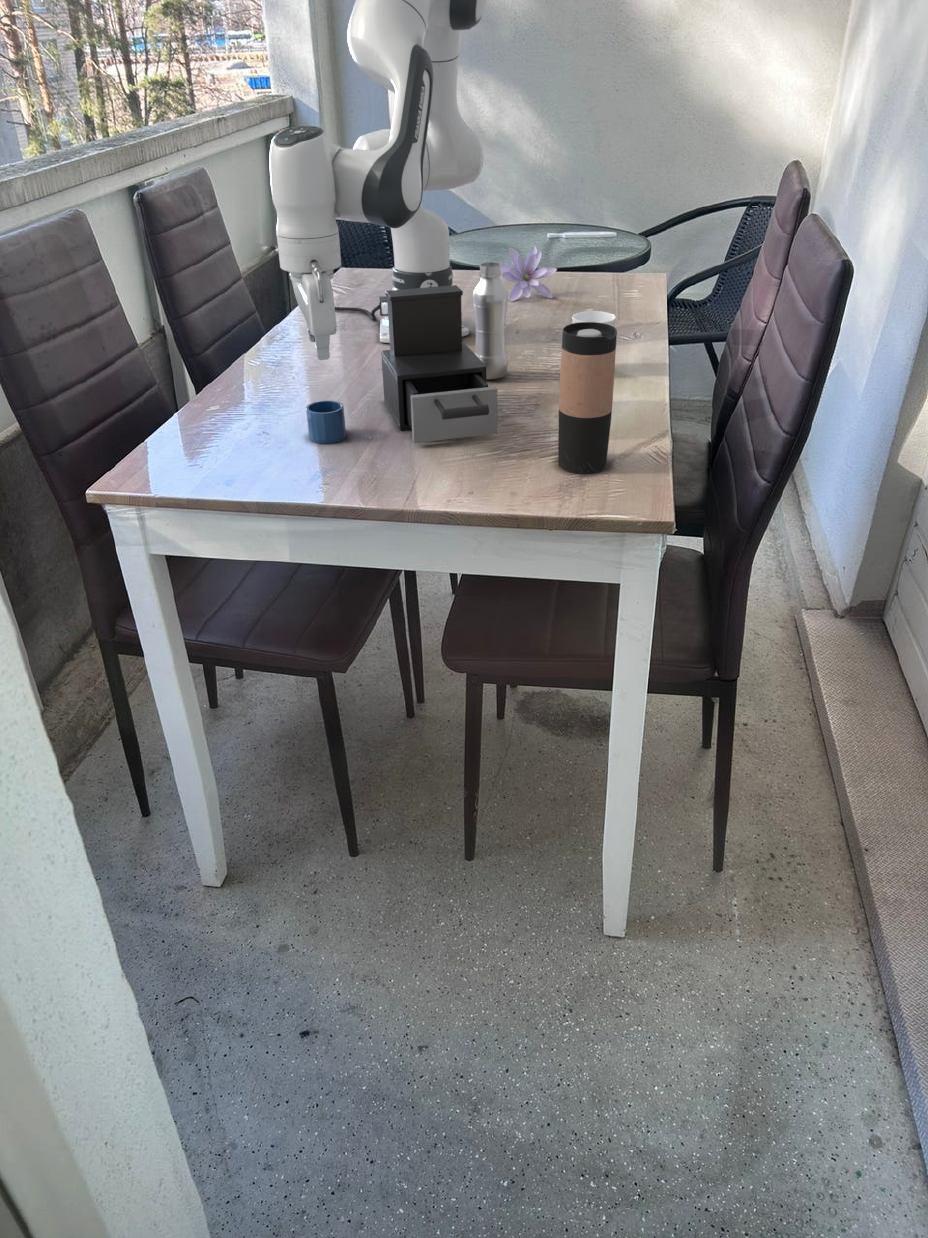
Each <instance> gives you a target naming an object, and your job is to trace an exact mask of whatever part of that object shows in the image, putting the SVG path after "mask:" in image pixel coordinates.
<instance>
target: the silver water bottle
mask: <svg viewBox="0 0 928 1238" xmlns="http://www.w3.org/2000/svg"><path fill="white" fill-rule="evenodd" d="M500 264H501V263H500V262H494V261H490V262H489V261H488V262H482V263H480V264H479V277H480V280H479V281H478V282H477V284H476V286H475V288H473V291H472V295H471V297H472V306H473V315H474V322H475V323H474V325H475V343H474V351H473V353H474V354H475V355H476V356H477V357H478V358H479V359H480V360H481V361H482V362H483V364H484V365H485V366H486V380H496V379H500V378H503V377H504V376H505V375H506V373H507V372H508V368H509V367H508V366H509V360H508V359H509V358H508V353H507V345H506V344H507V343H506V317H507V309H508V302H509V293H508V290H507V288H506V286H505V284H504V283H503V282H502V280H501V278H500V277H502V272H501V265H500Z"/></svg>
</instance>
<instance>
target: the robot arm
mask: <svg viewBox="0 0 928 1238" xmlns="http://www.w3.org/2000/svg"><path fill="white" fill-rule="evenodd" d="M488 3H489V0H355V1H354V4H353V8H352V11H351V13H350V17H349V22H348V27H347V39H346V40H347V46H348V49H349V53H350V55H351V57H352V59H353V62H354V63H355V65H356V66H357V67H358V68H359V69H360V71H361V72H362V73H363V74H364V75H365V76H366V77H367V78H368V79H369V80H370V81H372V82H373V83H375V84H376V85H378V86H380V87H382V88H384V89H386V90H388V91H390V92H392V93H394V94H395V99H394V107H393V113H392V120H391V128H382V129H378V130H375V131H372V132H369V133H365V134H363V135H360V136H359V137H358V138H357V140H356V141H355V142H354V145H353V147H352V148H349V147H342V146H340V145H338V144H335V143H333V142H332V141H330V140H329V138H328V137H327V134H326V132H325V130H324V129H323V128H321V127H319V126H316V125H314V126H313V125H298V126H293V127H288V128H285V129H282V130H281V131H279V132H278V133H276V134H275V135H274V136H273V137H272V139H271V143H270V149H269V176H270V178H269V179H270V180H269V181H270V189H271V190H270V191H271V199H272V204H273V206H274V209H275V211H276V217H277V222H276V228H275V229H276V230H275V232H276V235H275V236H276V241H277V250H278V251H277V252H278V260H279V267H280V269H281V270H282V271H284V272H289V279H290V281H291V285H292V288H293V292H294V296H295V301H296V303H297V305H298V307H299V310H300V311H301V314H302V316H303V318H304V320H305V323H306V328H307V335H308V339H309V341H310V342H311V343H315V352H316V358H317V359H318V360H319V361H327V360H329V359H330V357H331V354H330V343H331V342H330V341H331V340H330V339H331V336H333V335H336V334H337V327H338V324H337V316H336V315H337V314H336V311H337V312H338V311H340V312H359V313H364V314H366V315H367V316H368V317H369V318H370V319H371V320H372V321H375V320H376V317H377V316H376V312H377V311H378V310H379V316H380V317H383V318H381V319H380V322H379V342H380V343H385V344H390V339H389V321H388V304H387V296H386V295H385V296H383V295H382V296H378V305H376V306H374V307H373V308H372V310H371V311H369V310H368V309H366V308H361V307H347V306H346V307H345V306H335V305H336V304H335V299H334V298H335V297H334V290H333V286H332V281H331V280H332V279H334V277H335V276H334V275H335V274H334V270H337V269H338V268H340V267H341V266H342V256H341V245H340V232H339V230H340V229H339V226H338V223H337V221H336V220H341V221H346V222H354V223H355V222H356V223H366V224H373V225H377V226H381V227H386V228H390V233H391V239H392V249H393V262H394V266H393V267H392V274H391V278H392V286H393V287H392V289H391V290H403V289H415V288H428V287H440V286H452V285H453V278H454V272H453V266H452V265H451V257H450V255H451V254H450V229H449V226H448V224H447V222H446V221H445V219H444V218H443V217H442V216H440V214H437V213H435V212H433V211H431V210H429V209H427V208H424V206H423V205H422V204H423V203H422V200H423V192H430V191H431V192H432V191H441V190H454V189H456V188H461V187H463V186H465V185H469V184H471V183H474V182H476V180H477V179H478V178H479V177H480V174H481V172H482V170H483V165H484V161H485V160H484V159H485V156H484V155H485V154H484V147H483V144H482V141H481V140H480V137H479V136H478V134H477V133H476V132H475V130H473V129H472V128H471V127H470V126H469V125H468V124H467V123H466V121H465V120H464V119H463V117H462V114H461V112H460V109H459V104H458V97H457V90H458V71H459V63H460V62H459V61H460V53H461V44H462V43H461V42H462V31H467V30H471V29H472V28H474V27H476V26H477V25H478V24H479V23H480V21H481V19H482V18H483V15H484V13H485V11H486V10H487V6H488ZM469 334H470V330H469V328H468V327H466V326H465V325H463V324H462V338H463V337H465V336H468V335H469Z"/></svg>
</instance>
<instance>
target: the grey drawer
mask: <svg viewBox="0 0 928 1238" xmlns="http://www.w3.org/2000/svg"><path fill="white" fill-rule="evenodd" d="M402 382H403V402H404V417H405V419H406V420H407V422H408V424H409V425H410V427H411V429H410V430H411V432H412V433H411V436H412V442H413V443H414V444H421V443H427V442H437V441H445V440H454V439H461V438H471V437H480V436H488V435H497V434H498V388H497V386H489V384H488V383H487V381H486V382H485V381H484V380H483V379H482V378H481V377H480V375H479V374H478V373H477V372H476V373H466V374H456V375H446V376H437V377H427V378H417V379H407V380H402Z"/></svg>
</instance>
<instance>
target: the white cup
mask: <svg viewBox="0 0 928 1238" xmlns="http://www.w3.org/2000/svg"><path fill="white" fill-rule="evenodd" d="M616 321H617V316H616V315H615V314H613V313H610V312H607V311H600V310H586V311H585V310H584V311H580V312H576V313H574V314H573V315H572V316H571V324H573V323H580V322H597V323H604V324H608V325H611V326H613V327H615V328H616Z"/></svg>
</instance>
